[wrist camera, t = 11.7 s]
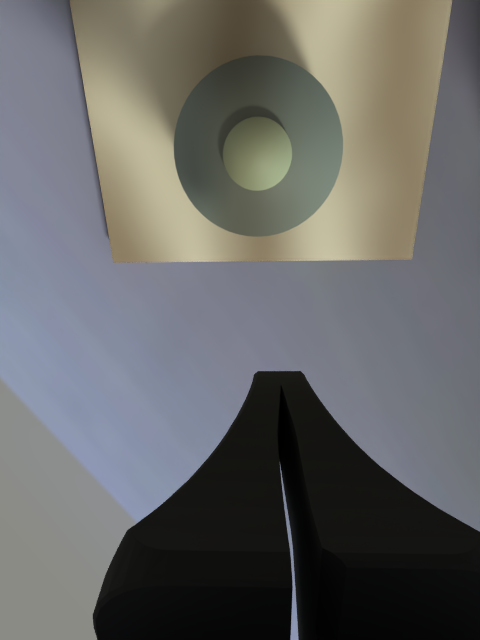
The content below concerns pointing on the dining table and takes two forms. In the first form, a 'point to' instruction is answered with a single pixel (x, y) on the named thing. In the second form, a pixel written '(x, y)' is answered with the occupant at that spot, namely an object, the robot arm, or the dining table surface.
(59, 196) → the dining table surface
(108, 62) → the base
